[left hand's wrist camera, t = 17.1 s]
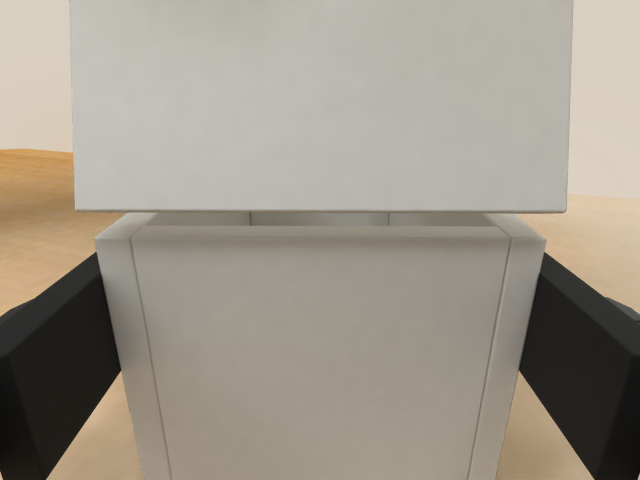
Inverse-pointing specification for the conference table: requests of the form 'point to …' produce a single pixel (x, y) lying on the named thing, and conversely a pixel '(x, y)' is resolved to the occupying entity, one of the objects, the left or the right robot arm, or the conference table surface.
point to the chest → (319, 341)
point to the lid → (321, 106)
